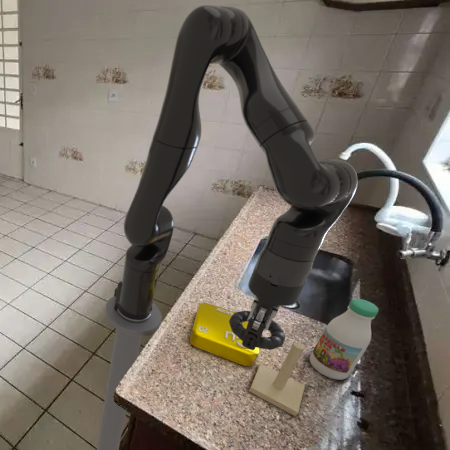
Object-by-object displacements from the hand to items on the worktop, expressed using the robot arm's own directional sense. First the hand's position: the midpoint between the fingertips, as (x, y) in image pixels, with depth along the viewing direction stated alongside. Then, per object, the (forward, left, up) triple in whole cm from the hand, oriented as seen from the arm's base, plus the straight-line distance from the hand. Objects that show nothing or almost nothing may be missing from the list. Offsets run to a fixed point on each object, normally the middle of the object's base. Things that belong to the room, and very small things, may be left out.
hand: (250, 342), depth 69 cm
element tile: (-6, +19, -18) cm, 27 cm away
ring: (0, +4, +1) cm, 4 cm away
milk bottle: (+16, +27, -18) cm, 36 cm away
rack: (+8, +11, -18) cm, 23 cm away
